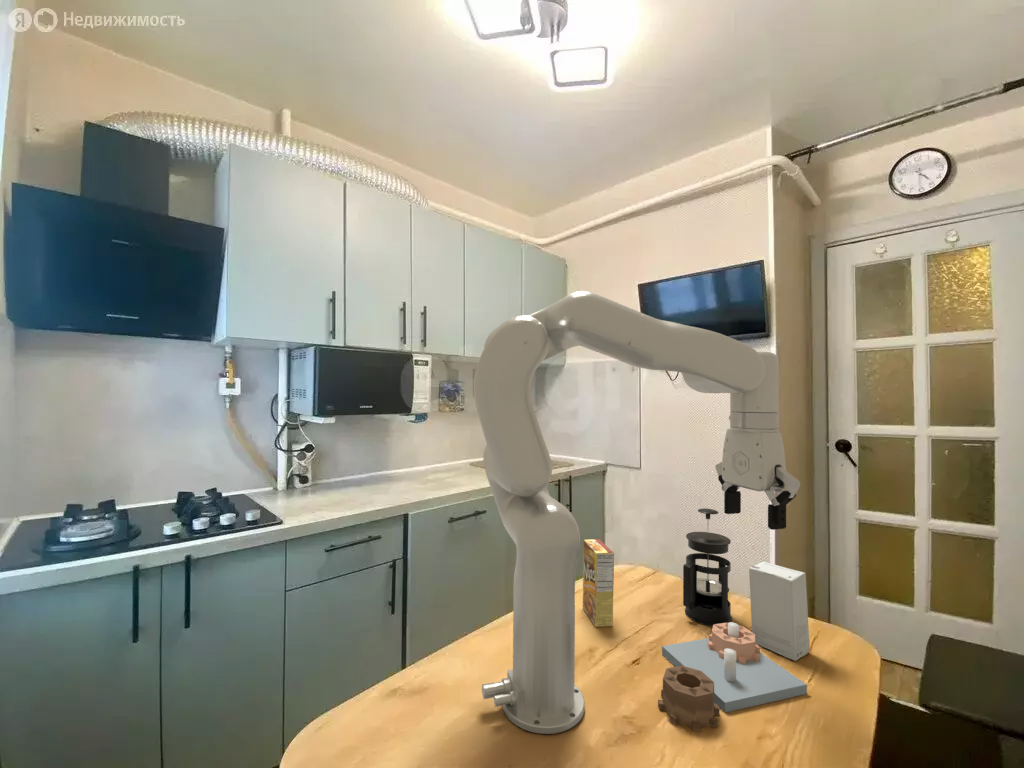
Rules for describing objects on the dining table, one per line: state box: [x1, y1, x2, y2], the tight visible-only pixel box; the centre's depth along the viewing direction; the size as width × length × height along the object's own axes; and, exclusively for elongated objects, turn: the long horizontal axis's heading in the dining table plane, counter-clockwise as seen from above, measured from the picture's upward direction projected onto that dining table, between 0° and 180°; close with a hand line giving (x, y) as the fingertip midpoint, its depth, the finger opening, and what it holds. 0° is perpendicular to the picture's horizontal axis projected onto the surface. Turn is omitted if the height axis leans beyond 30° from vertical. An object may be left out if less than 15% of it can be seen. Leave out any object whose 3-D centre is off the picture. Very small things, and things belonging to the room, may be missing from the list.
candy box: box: [582, 538, 615, 628], centre depth 99 cm, size 9×4×15 cm, turn 9°
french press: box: [682, 507, 733, 627], centre depth 99 cm, size 12×9×23 cm
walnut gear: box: [657, 666, 720, 733], centre depth 70 cm, size 8×8×4 cm
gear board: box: [661, 621, 808, 713], centre depth 79 cm, size 16×16×6 cm
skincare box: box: [748, 561, 811, 662], centre depth 87 cm, size 8×6×15 cm
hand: (753, 520), depth 80 cm, fingers open, 9 cm apart
